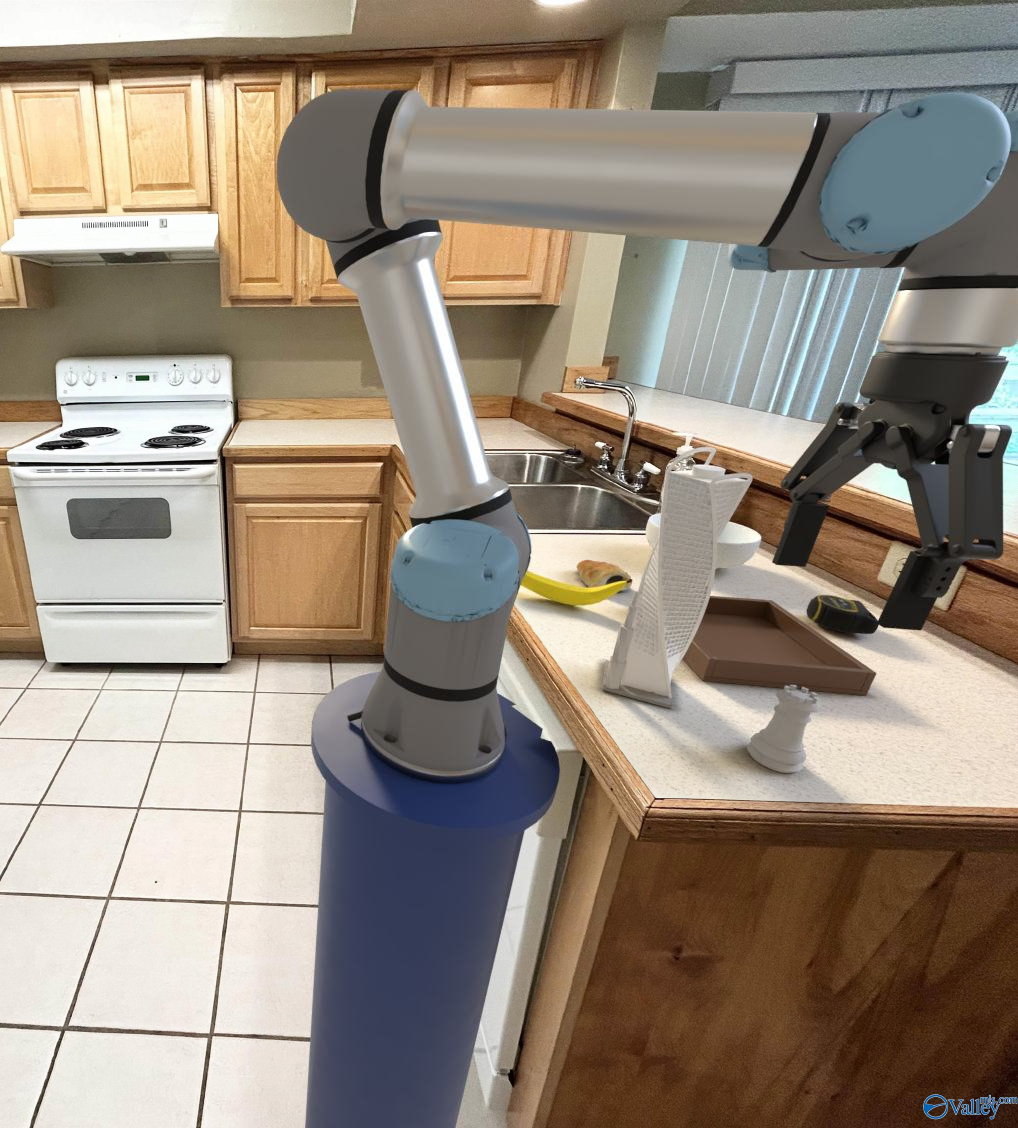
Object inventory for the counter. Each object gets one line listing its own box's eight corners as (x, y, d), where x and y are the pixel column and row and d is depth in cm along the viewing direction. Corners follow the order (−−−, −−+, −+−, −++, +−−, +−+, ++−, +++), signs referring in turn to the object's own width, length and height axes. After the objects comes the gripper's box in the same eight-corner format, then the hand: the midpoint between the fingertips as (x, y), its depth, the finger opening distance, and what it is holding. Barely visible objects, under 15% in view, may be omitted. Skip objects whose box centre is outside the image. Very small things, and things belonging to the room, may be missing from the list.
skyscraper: (605, 657, 77) (663, 441, 66) (679, 676, 73) (753, 449, 62) (601, 689, 70) (665, 454, 59) (683, 711, 66) (766, 464, 55)
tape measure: (873, 643, 81) (885, 618, 79) (809, 630, 84) (819, 607, 82) (856, 622, 86) (867, 599, 85) (797, 611, 89) (806, 589, 88)
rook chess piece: (785, 780, 56) (816, 711, 53) (735, 751, 60) (761, 685, 57) (812, 767, 58) (843, 699, 55) (761, 740, 62) (787, 674, 59)
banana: (495, 582, 99) (501, 547, 96) (623, 615, 88) (634, 576, 85) (489, 588, 96) (495, 552, 94) (620, 622, 86) (631, 582, 83)
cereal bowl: (754, 589, 97) (769, 549, 94) (637, 568, 105) (647, 530, 102) (743, 557, 110) (756, 521, 107) (640, 540, 118) (649, 506, 115)
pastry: (564, 571, 103) (569, 550, 102) (601, 570, 104) (606, 550, 102) (594, 594, 95) (600, 572, 93) (635, 593, 95) (641, 572, 94)
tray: (702, 680, 72) (709, 658, 71) (636, 609, 90) (641, 590, 89) (866, 695, 69) (877, 673, 68) (764, 618, 87) (771, 600, 86)
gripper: (1202, 361, 35) (1021, 668, 43) (868, 345, 58) (791, 547, 66) (1056, 358, 36) (905, 659, 44) (784, 343, 59) (718, 543, 67)
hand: (837, 592), depth 55 cm, fingers open, 13 cm apart
